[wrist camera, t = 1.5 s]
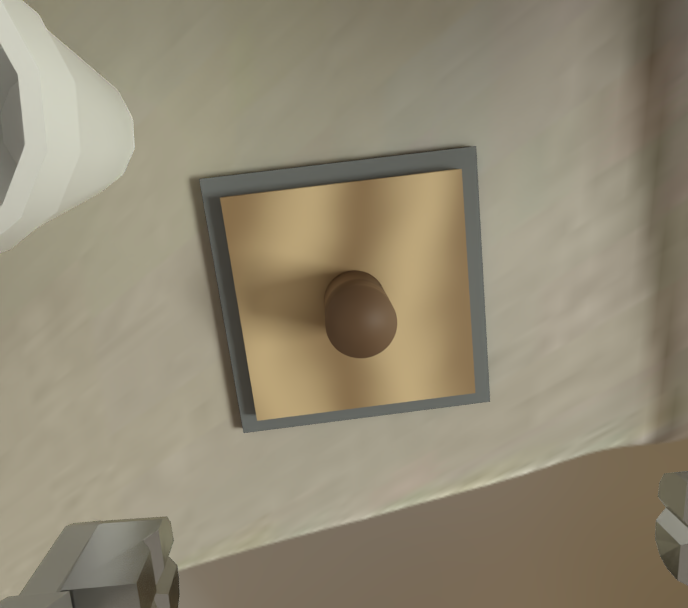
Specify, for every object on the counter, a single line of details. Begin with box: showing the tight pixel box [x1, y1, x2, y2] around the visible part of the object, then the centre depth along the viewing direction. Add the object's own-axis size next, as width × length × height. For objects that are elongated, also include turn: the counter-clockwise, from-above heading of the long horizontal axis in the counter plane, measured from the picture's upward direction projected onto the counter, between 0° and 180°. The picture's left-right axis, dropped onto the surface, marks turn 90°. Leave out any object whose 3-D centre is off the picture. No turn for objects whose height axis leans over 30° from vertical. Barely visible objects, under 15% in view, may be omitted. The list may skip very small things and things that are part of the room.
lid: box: [220, 169, 475, 421], centre depth 27 cm, size 12×12×5 cm
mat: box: [199, 146, 490, 433], centre depth 30 cm, size 14×14×1 cm
